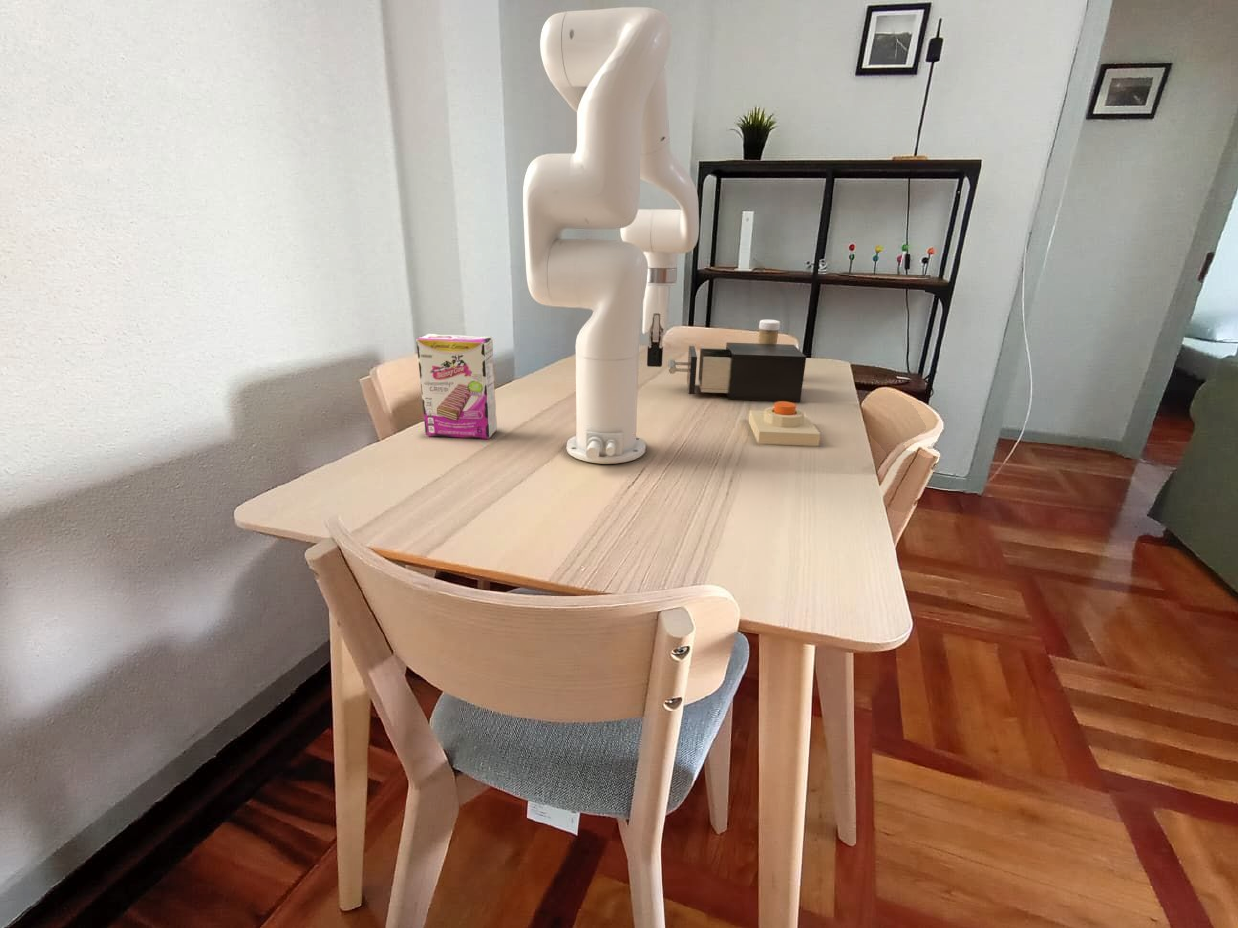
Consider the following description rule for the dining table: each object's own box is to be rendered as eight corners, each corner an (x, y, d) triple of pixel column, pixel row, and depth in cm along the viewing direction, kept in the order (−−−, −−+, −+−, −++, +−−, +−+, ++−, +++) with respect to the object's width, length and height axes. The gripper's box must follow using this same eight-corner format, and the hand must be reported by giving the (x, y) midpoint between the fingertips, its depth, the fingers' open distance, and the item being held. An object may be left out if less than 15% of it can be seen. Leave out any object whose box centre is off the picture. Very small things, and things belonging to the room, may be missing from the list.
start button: (796, 417, 104) (798, 407, 103) (775, 416, 104) (776, 406, 103) (792, 411, 107) (793, 401, 107) (771, 410, 107) (773, 400, 107)
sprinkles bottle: (752, 379, 143) (758, 321, 138) (755, 375, 147) (761, 318, 142) (772, 381, 141) (779, 322, 136) (774, 377, 145) (781, 319, 140)
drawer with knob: (667, 393, 127) (669, 356, 124) (667, 379, 137) (669, 345, 134) (754, 396, 126) (758, 359, 123) (747, 382, 136) (750, 347, 133)
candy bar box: (424, 437, 102) (413, 338, 95) (435, 427, 106) (426, 333, 100) (490, 440, 101) (483, 341, 95) (498, 430, 105) (492, 335, 99)
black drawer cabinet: (728, 400, 126) (732, 354, 122) (722, 385, 137) (726, 342, 134) (800, 403, 125) (806, 356, 121) (788, 387, 137) (793, 344, 133)
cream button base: (818, 446, 101) (822, 423, 100) (757, 443, 102) (760, 421, 100) (803, 423, 112) (806, 402, 111) (748, 421, 113) (750, 400, 111)
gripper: (640, 273, 131) (638, 357, 138) (638, 280, 117) (635, 373, 124) (675, 273, 130) (671, 358, 137) (677, 281, 116) (672, 375, 123)
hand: (654, 365), depth 130 cm, fingers closed
